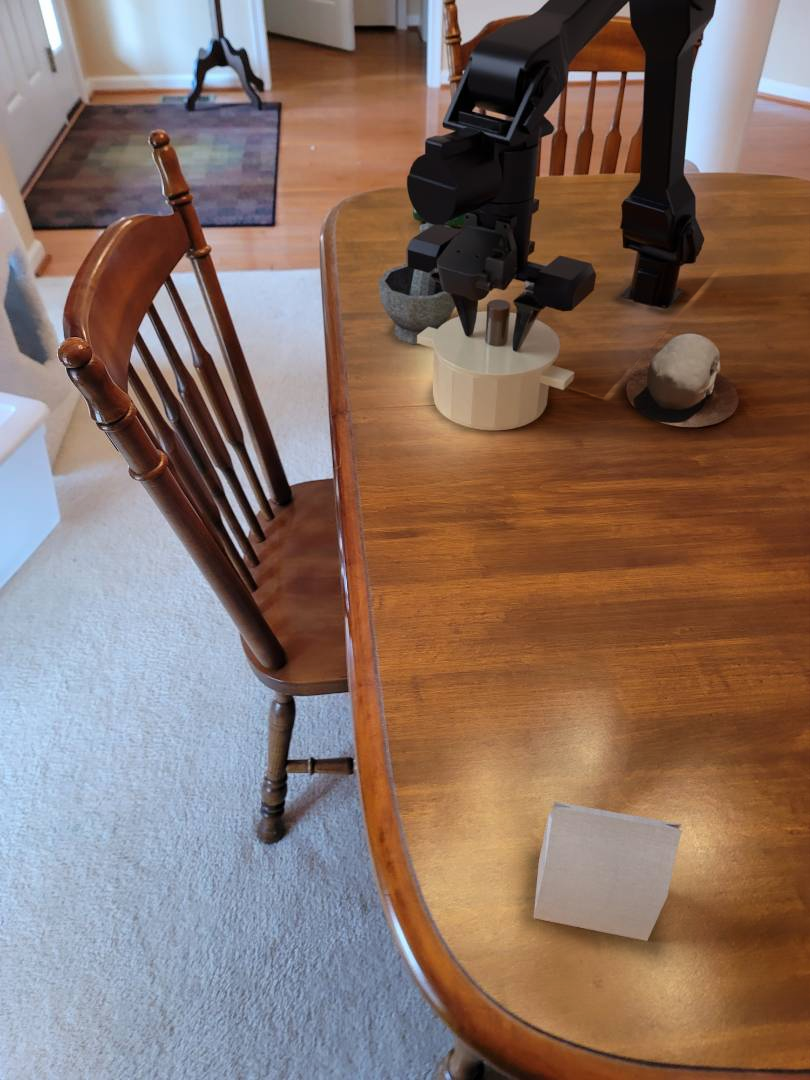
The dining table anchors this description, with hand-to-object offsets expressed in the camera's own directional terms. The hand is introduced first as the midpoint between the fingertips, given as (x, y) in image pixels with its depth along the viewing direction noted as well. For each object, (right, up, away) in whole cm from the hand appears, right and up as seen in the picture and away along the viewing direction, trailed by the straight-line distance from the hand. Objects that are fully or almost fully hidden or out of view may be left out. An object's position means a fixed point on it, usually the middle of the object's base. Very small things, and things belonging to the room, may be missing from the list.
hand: (492, 342), depth 89 cm
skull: (+21, -5, +4) cm, 23 cm away
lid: (0, 0, +1) cm, 1 cm away
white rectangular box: (+2, -44, -37) cm, 57 cm away
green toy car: (-4, +27, +40) cm, 49 cm away
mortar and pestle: (-7, +5, +16) cm, 19 cm away
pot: (0, -5, +5) cm, 7 cm away
